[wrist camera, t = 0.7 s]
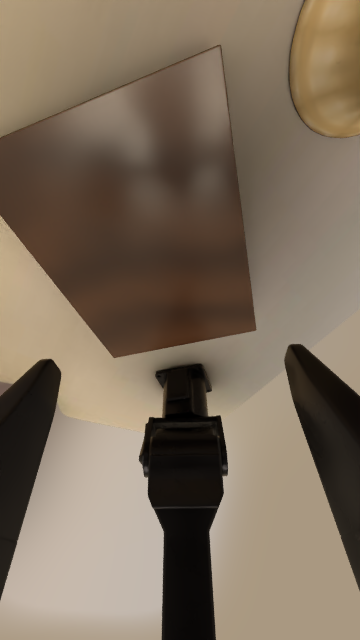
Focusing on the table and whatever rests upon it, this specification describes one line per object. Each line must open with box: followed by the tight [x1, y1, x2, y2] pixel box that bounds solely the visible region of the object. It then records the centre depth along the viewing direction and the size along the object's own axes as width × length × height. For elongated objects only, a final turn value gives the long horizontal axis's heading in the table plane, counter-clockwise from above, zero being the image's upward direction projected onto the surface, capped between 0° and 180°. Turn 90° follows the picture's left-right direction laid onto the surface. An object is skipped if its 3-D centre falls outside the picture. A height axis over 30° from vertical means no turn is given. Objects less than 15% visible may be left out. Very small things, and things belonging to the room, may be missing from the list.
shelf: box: [0, 45, 256, 358], centre depth 19 cm, size 18×14×4 cm
